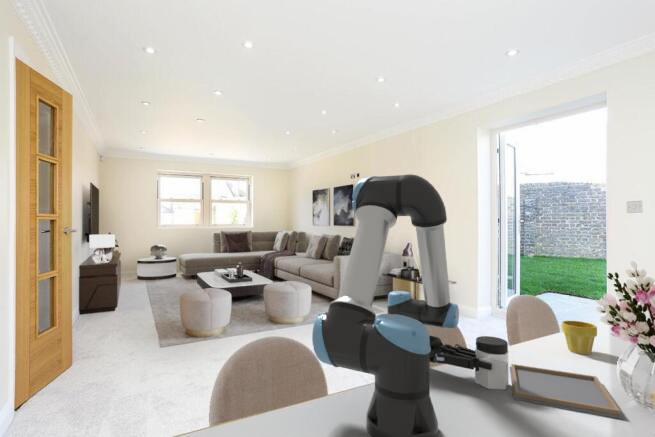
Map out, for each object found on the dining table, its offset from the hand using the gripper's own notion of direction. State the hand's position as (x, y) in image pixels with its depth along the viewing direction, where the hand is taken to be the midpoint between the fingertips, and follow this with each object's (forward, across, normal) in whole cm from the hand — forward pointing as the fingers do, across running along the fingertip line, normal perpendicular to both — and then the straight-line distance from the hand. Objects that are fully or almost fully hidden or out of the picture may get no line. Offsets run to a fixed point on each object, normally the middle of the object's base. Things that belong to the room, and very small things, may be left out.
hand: (506, 368), depth 95 cm
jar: (-5, -4, -7) cm, 9 cm away
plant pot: (+6, -55, -7) cm, 55 cm away
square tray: (+9, -13, -7) cm, 17 cm away
